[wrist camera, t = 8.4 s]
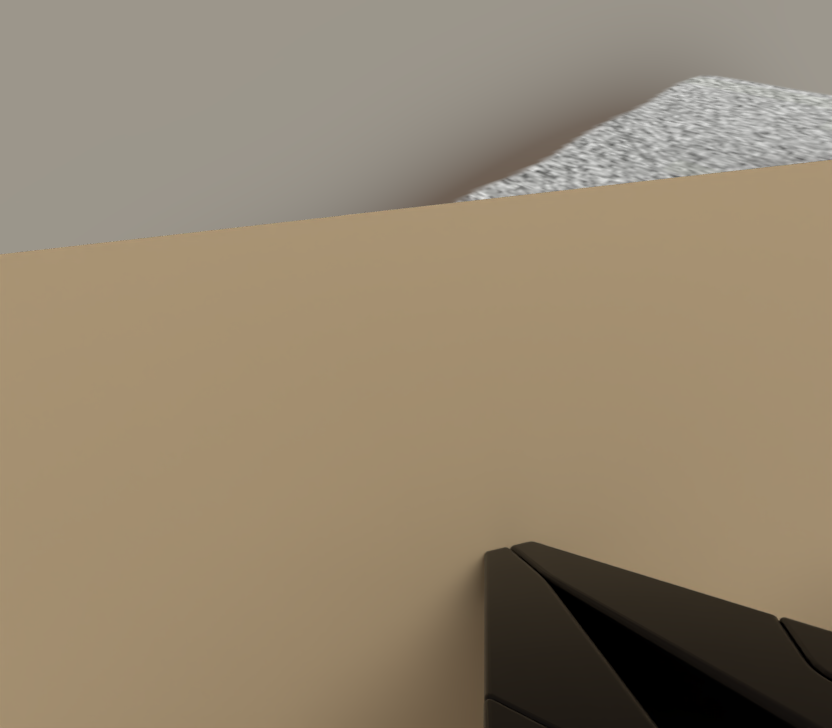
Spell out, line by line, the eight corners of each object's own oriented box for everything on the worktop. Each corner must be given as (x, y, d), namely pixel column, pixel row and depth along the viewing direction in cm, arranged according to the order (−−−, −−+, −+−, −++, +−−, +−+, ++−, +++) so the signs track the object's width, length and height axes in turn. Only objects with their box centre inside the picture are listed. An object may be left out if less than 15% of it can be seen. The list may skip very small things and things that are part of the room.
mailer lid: (1078, 131, 6) (1009, 140, 7) (-447, 305, 4) (-338, 293, 5) (882, 696, 10) (849, 668, 11) (51, 958, 8) (73, 901, 9)
